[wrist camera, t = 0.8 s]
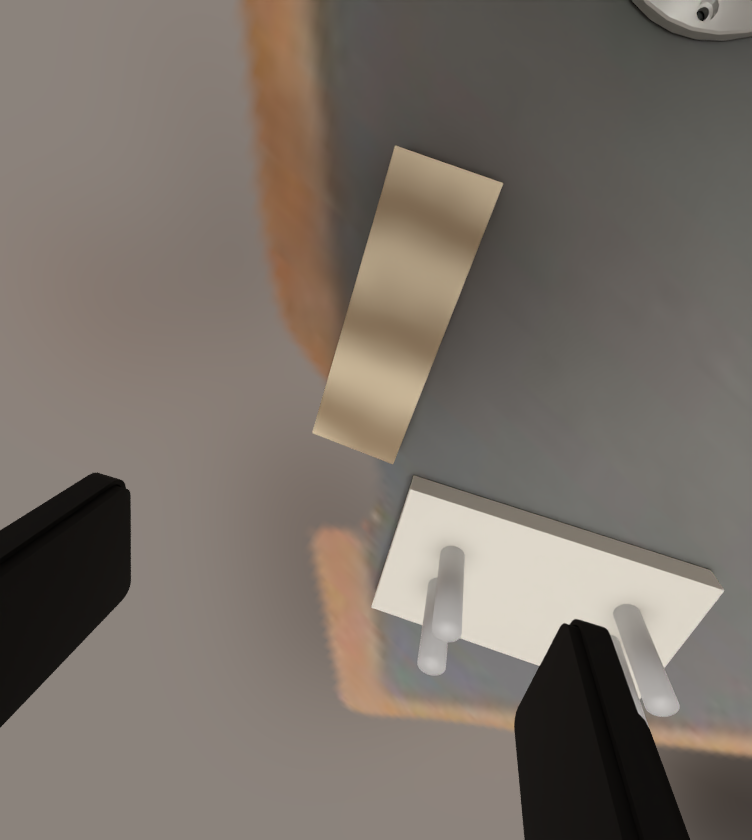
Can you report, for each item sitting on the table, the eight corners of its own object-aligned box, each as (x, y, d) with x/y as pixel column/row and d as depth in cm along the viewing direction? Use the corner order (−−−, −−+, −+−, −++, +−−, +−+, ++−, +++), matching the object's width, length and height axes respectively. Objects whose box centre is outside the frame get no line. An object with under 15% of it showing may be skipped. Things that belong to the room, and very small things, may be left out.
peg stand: (413, 475, 34) (393, 552, 26) (710, 570, 33) (788, 685, 24) (376, 589, 40) (350, 684, 31) (631, 677, 38) (673, 802, 30)
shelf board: (403, 153, 27) (395, 145, 24) (500, 187, 26) (503, 183, 24) (324, 416, 35) (312, 433, 32) (399, 445, 34) (393, 464, 32)
